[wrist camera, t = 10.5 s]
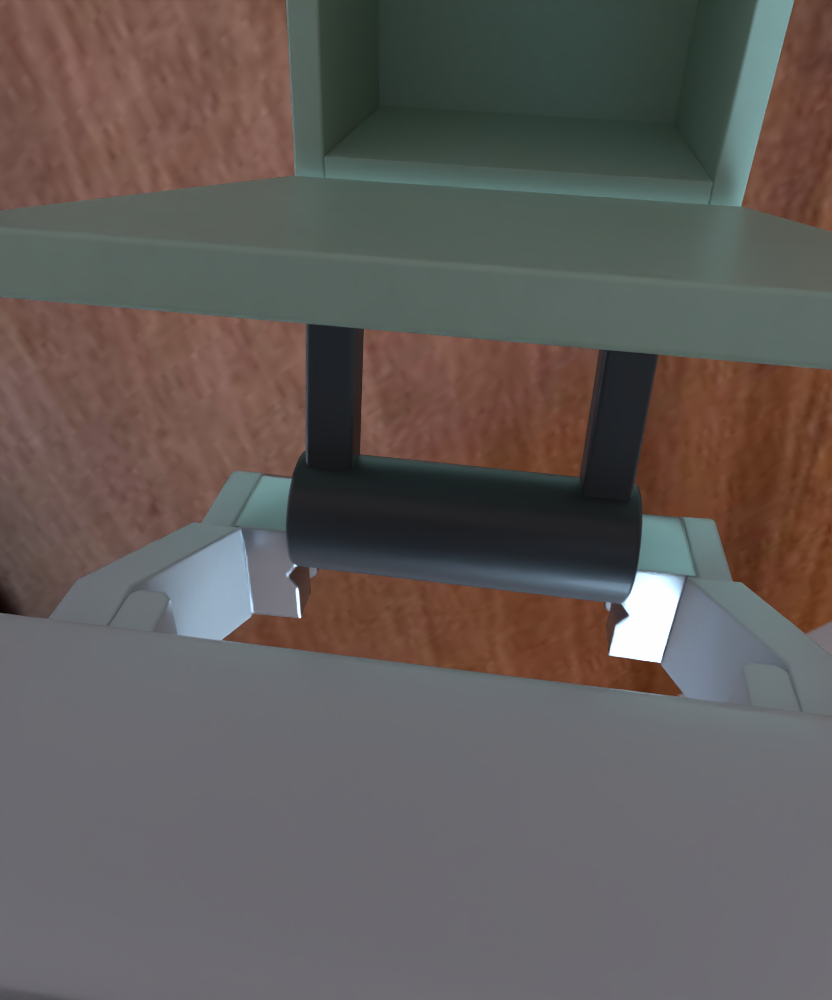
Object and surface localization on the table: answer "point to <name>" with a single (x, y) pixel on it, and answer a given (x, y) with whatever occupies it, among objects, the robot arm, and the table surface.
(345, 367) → the lid
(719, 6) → the chest
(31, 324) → the table surface
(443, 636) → the table surface
